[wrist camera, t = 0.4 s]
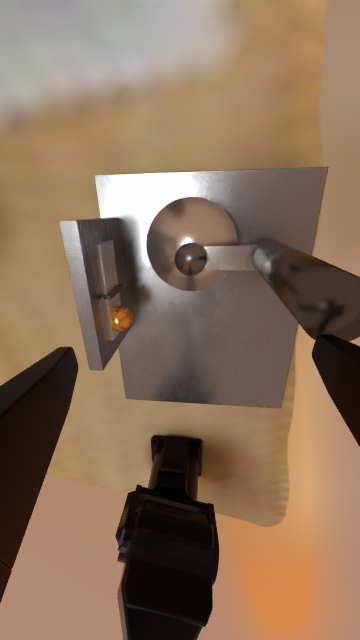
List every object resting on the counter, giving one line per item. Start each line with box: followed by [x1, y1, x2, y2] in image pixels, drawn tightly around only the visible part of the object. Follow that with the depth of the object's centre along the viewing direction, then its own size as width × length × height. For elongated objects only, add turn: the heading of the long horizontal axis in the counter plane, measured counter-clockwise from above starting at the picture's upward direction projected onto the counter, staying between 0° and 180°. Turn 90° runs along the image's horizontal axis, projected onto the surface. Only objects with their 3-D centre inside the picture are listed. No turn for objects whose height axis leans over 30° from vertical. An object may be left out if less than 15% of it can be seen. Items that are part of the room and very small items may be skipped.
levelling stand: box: [59, 167, 328, 408], centre depth 20 cm, size 22×17×8 cm
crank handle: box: [146, 197, 360, 342], centre depth 14 cm, size 7×11×12 cm, turn 91°
